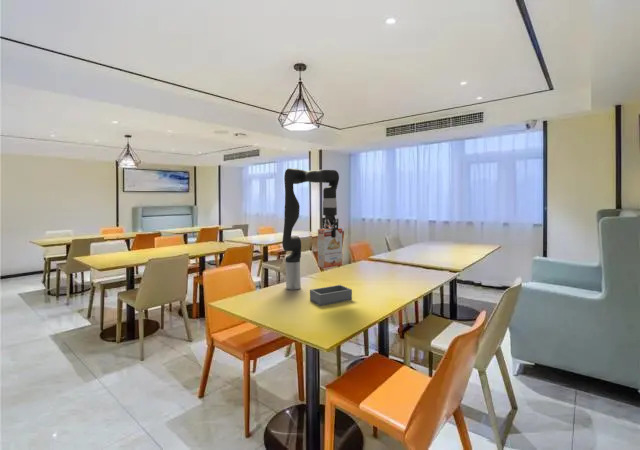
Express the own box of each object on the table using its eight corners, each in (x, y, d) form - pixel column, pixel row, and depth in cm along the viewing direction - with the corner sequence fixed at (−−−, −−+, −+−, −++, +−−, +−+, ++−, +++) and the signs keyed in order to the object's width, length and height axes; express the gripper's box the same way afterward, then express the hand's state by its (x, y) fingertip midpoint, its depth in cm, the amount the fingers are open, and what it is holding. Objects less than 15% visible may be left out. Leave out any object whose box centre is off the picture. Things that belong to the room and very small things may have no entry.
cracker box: (325, 268, 179) (324, 229, 177) (317, 267, 183) (316, 229, 182) (343, 265, 189) (342, 227, 187) (335, 263, 193) (334, 227, 191)
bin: (310, 300, 188) (309, 289, 187) (340, 294, 197) (340, 284, 197) (320, 306, 177) (320, 294, 177) (351, 300, 187) (351, 289, 186)
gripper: (317, 206, 188) (317, 236, 189) (330, 207, 175) (331, 238, 177) (329, 206, 191) (329, 235, 193) (342, 206, 179) (343, 237, 180)
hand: (330, 236), depth 185 cm, fingers closed on cracker box, 6 cm apart
